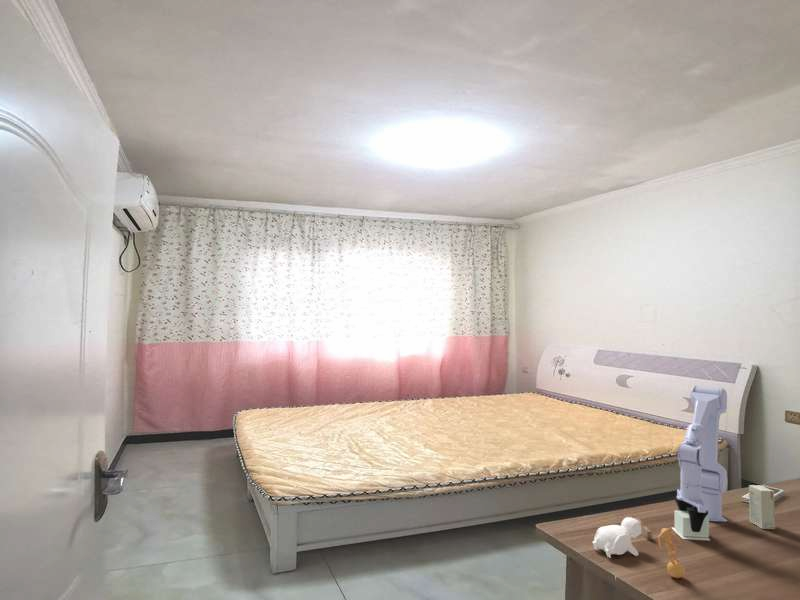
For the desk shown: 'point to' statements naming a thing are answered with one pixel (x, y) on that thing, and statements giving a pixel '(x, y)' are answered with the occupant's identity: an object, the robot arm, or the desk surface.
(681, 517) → the pale green block
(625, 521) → the white crawling baby figure
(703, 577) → the desk surface
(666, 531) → the figurine
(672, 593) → the desk surface
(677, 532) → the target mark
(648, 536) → the stopper
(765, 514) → the skincare box
